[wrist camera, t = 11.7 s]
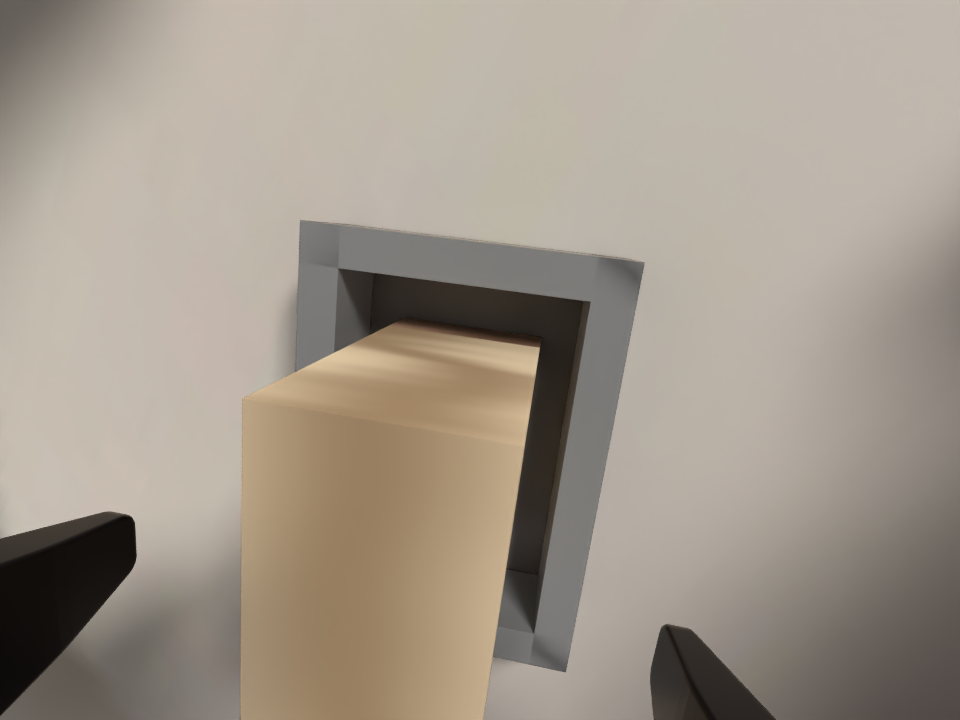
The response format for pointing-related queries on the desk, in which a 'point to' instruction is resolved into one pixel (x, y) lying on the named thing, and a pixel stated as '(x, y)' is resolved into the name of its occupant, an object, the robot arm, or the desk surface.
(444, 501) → the block
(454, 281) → the collar
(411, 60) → the desk surface
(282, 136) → the desk surface
